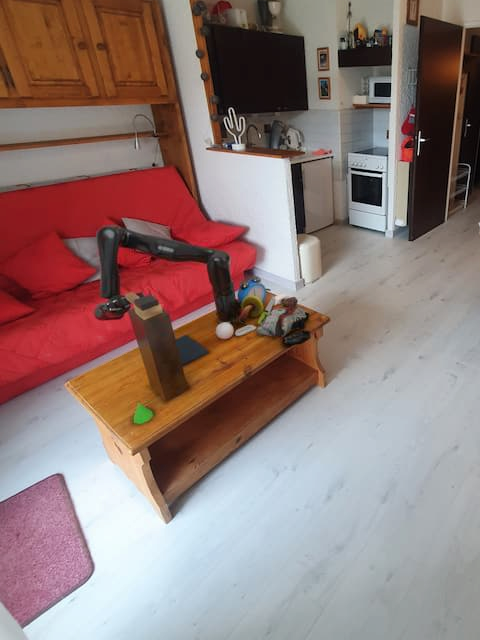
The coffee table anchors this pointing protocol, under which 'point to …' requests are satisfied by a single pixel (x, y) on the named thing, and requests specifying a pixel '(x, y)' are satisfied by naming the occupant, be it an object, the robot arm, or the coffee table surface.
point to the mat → (189, 349)
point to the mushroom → (249, 309)
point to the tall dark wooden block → (159, 354)
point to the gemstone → (142, 414)
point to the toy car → (296, 338)
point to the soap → (245, 330)
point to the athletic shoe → (291, 320)
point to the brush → (144, 305)
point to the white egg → (224, 330)
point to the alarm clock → (251, 289)
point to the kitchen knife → (266, 311)
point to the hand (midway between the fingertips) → (126, 299)
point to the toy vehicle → (280, 298)
